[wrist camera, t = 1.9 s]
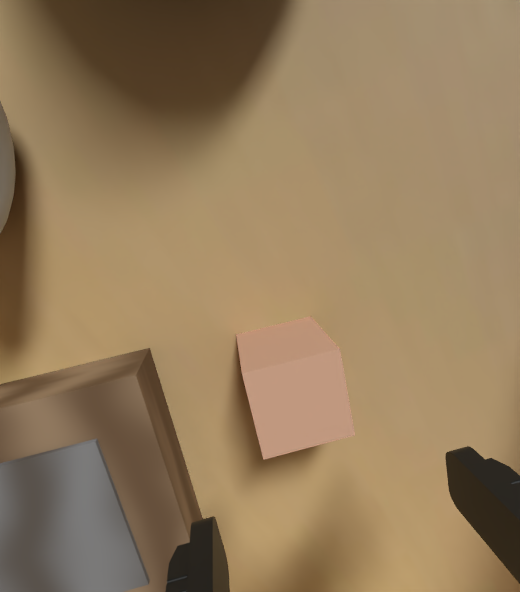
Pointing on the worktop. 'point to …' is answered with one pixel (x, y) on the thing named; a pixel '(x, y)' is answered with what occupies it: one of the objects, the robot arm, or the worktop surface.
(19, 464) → the walnut base
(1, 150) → the donut
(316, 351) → the terracotta block
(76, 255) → the worktop surface
